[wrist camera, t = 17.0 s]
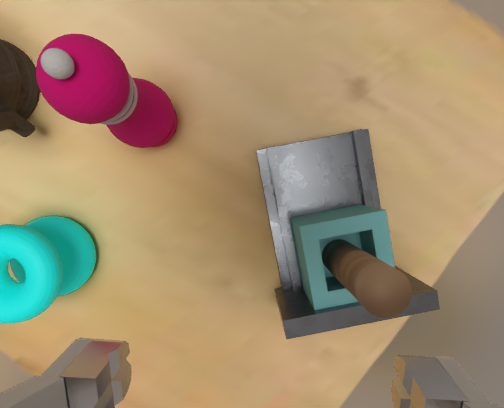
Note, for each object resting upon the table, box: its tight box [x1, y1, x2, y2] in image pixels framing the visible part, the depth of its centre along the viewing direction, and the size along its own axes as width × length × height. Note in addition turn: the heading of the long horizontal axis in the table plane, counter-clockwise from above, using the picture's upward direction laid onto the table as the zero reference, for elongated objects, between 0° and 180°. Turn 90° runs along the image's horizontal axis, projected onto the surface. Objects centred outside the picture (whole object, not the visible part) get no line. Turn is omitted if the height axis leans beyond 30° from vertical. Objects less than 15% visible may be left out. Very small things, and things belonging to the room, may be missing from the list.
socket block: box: [290, 204, 395, 310], centre depth 35 cm, size 9×9×7 cm
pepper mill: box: [36, 34, 177, 148], centre depth 28 cm, size 7×7×20 cm
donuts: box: [0, 216, 96, 323], centre depth 34 cm, size 10×10×10 cm
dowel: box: [322, 239, 412, 318], centre depth 30 cm, size 4×4×12 cm
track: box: [256, 129, 440, 339], centre depth 35 cm, size 20×16×9 cm
